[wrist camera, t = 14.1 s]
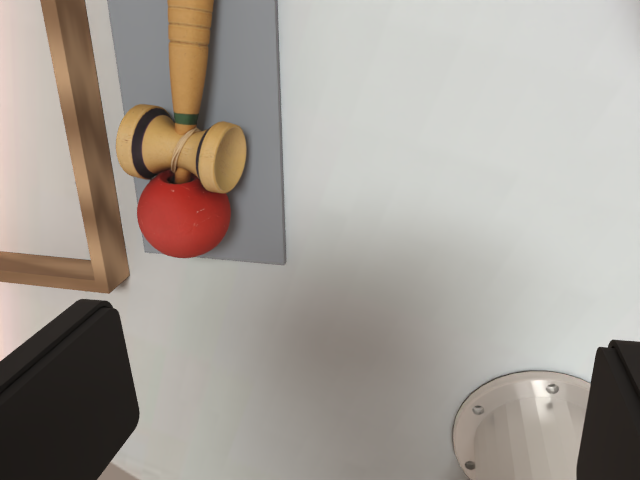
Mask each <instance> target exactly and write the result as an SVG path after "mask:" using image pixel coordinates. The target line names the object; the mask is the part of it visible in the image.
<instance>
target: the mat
mask: <svg viewBox="0 0 640 480" xmlns="http://www.w3.org/2000/svg"><path fill="white" fill-rule="evenodd" d="M107 2H108V9H109V16H110V22H111V29H112V36H113V42H114V49H115V56H116V62H117V69H118V76H119V83H120V89H121V96H122V103H123V109H124V116H125V114H126V113H127V112H128V111H129V110H130V109H131V108H133V107H134V106H136V105H139V104H147V105H154V106H160V107H162V108H164V109H165V110H166V111H167V112H168V113H169V115H170V117H171V119H172V121H173V122H174V123H175V118H174V111H173V103H172V93H171V83H170V69H169V42H170V40H169V38H168V25H169V22H168V4H167V0H107ZM207 46H208V49H209V50H208V61H207V69H206V76H205V83H204V89H203V95H202V100H201V105H200V111H199V116H198V120H197V128H198V129H200V130H201V131H204V130H207V129H209V128H210V127H211V126H213V125H214V124H216V123H218V122H222V121H225V122H229V123H232V124H235V125H238V126H240V127H241V129H242V130H243V133H244V136H245V140H246V149H247V150H246V161H245V166H244V169H243V172H242V175H241V177H240V179H239V181H238V183H237V184H236V185H235V187H234V188H233V189H232V190H231V191H230V192H228V193H226V194H227V196H228V199H229V203H230V208H231V218H230V224H229V227H228V230H227V232H226V234H225V236H224V238H223V239H222V241H221V242H220V243H219V244H218V245H217V246H216V247H215V248H213V249H212V250H210V251H209V252H207V253H205V254H203V255H200V256H196V257H201V258H212V259H222V260H233V261H244V262H254V263H265V264H276V265H284V264H285V263H286V243H285V214H284V184H283V154H282V125H281V95H280V65H279V36H278V6H277V0H214V4H213V12H212V21H211V27H210V41H209V44H208V45H207ZM149 182H150V180H145V179H141V178H137V177H134V183H135V190H136V196H137V203H138V202H139V199H140V196H141V194H142V192H143V190H144V188H145V187H146V185H147V184H148V183H149ZM142 237H143V243H144V250H145V252H147V253H158V254H163V253H161V252H160V251H158V250H157V249H155V248H154V247H153V246H152V245H151V244H150V243H149V242H148V241H147V240H146V238H145V237H144V235H143V233H142Z"/></svg>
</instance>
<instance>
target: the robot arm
mask: <svg viewBox="0 0 640 480" xmlns="http://www.w3.org/2000/svg"><path fill="white" fill-rule="evenodd" d="M138 420H139V406H138V402H137V397H136V392H135V387H134V382H133V377H132V373H131V368H130V363H129V358H128V353H127V349H126V344H125V339H124V334H123V329H122V325H121V320H120V315H119V312H118V311H117V310H116V309H115V308H113V306H112V305H111V304H110V302H108V301H102V300H89V299H80V300H78V301H76V302H75V303H74V304H73V305H71V306H70V307H69V308H68V309H66V310H65V311H64V312H62V313H61V314H60V315H59V316H57V317H56V318H55V319H54V320H52V321H51V322H50V323H49V324H47V325H46V326H45V327H43V328H42V329H41V330H40V331H38V332H37V333H36V334H35V335H33V336H32V337H31V338H29V339H28V340H27V341H26V342H24V343H23V344H22V345H21V346H19V347H18V348H17V349H16V350H14V351H13V352H12V353H10V354H9V355H8V356H7V357H5V358H4V359H3V360H2V361H0V480H97V479H98V477H99V476H100V475H101V474H102V472H103V471H104V470H105V468H106V467H107V466H108V464H109V463H110V462H111V460H112V459H113V458H114V456H115V455H116V454H117V452H118V451H119V450H120V448H121V447H122V446H123V444H124V443H125V442H126V440H127V439H128V438H129V436H130V435H131V434H132V432H133V431H134V430H135V428H136V426H137V424H138ZM453 443H454V451H455V455H456V457H457V460H458V462H459V465H460V466H461V468H462V469H463V471H464V472H465V474H466V475H467V476H468V477H469V478H470V479H471V480H640V342H635V341H622V340H612V341H610V343H609V345H608V348H605V347H599V348H598V349H597V352H596V356H595V362H594V368H593V374H592V379H591V384H590V383H588V382H586V381H584V380H582V379H579V378H576V377H573V376H569V375H566V374H561V373H554V372H548V371H529V372H522V373H515V374H510V375H507V376H504V377H500V378H497V379H495V380H493V381H491V382H489V383H487V384H485V385H483V386H482V387H480V388H479V389H478V390H476V391H475V392H474V393H472V394H471V395H470V396H469V398H468V399H467V400H466V401H465V402H464V403H463V404H462V406H461V408H460V410H459V412H458V414H457V416H456V419H455V423H454V427H453Z"/></svg>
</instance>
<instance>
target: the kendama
mask: <svg viewBox="0 0 640 480" xmlns="http://www.w3.org/2000/svg"><path fill="white" fill-rule="evenodd" d="M167 4H168V22H169V25H168V38H169V40H170V42H169V69H170V83H171V93H172V103H173V111H174V118H175V123H174V122H173V121H172V119H171V117H170V115H169V113H168V112H167V111H166V110H165V109H164V108H162V107H160V106H154V105H147V104H139V105H136V106H134V107H133V108H131V109H130V110H129V111H128V112H127V113H126V114H125V116H124V118H123V119H122V121H121V123H120V126H119V129H118V133H117V139H116V153H117V157H118V161H119V163H120V165H121V167H122V168H123V170H124V171H125V172H126V173H127V174H129V175H131V176H134V177H137V178H141V179H145V180H150V182H149V183H148V184H147V185H146V187H145V188H144V190H143V192H142V194H141V196H140V199H139V202H138V207H137V218H138V223H139V227H140V229H141V232H142V233H143V235H144V237H145V238H146V240H147V241H148V242H149V243H150V244H151V245H152V246H153V247H154V248H155V249H157V250H158V251H160V252H161V253H163V254H166V255H168V256H172V257H177V258H191V257H196V256H200V255H203V254H205V253H207V252H209V251H210V250H212V249H213V248H215V247H216V246H217V245H218V244H219V243H220V242H221V241H222V239H223V238H224V236H225V234H226V232H227V230H228V227H229V224H230V218H231V208H230V203H229V199H228V196H227V194H226V193H228V192H230V191H231V190H232V189H233V188H234V187H235V185H236V184H237V183H238V181H239V179H240V177H241V175H242V172H243V169H244V166H245V161H246V150H247V149H246V140H245V136H244V133H243V130H242V129H241V127H240V126H238V125H235V124H232V123H229V122H225V121H222V122H218V123H216V124H214V125H213V126H211V127H210V128H209V129H207V130H204V131H201V130H200V129H198V128H197V120H198V116H199V111H200V105H201V100H202V95H203V89H204V83H205V76H206V69H207V61H208V50H209V49H208V46H207V45H208V44H209V41H210V27H211V21H212V12H213V4H214V0H167Z"/></svg>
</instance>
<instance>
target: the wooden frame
mask: <svg viewBox="0 0 640 480" xmlns="http://www.w3.org/2000/svg"><path fill="white" fill-rule="evenodd" d="M40 1H41V6H42V11H43V16H44V21H45V27H46V32H47V37H48V42H49V47H50V52H51V57H52V62H53V68H54V73H55V78H56V83H57V88H58V93H59V98H60V104H61V109H62V114H63V119H64V124H65V129H66V134H67V140H68V145H69V150H70V155H71V160H72V165H73V170H74V176H75V181H76V186H77V191H78V196H79V201H80V206H81V212H82V217H83V222H84V227H85V232H86V237H87V242H88V247H89V253H90V258H91V260H82V259H72V258H61V257H51V256H41V255H31V254H21V253H10V252H0V282H8V283H18V284H27V285H36V286H45V287H54V288H63V289H72V290H81V291H90V292H99V293H108V294H109V293H110V292H112V291H113V290H114V289H115V288H116V287H117V286H118V285H119V284H120V283H122V282H123V281H124V280H125V279H126V278H127V277H128V276H129V275H130V274H129V268H128V262H127V256H126V249H125V243H124V237H123V231H122V225H121V219H120V213H119V207H118V201H117V195H116V189H115V183H114V177H113V171H112V164H111V158H110V152H109V146H108V140H107V134H106V128H105V122H104V116H103V110H102V104H101V98H100V92H99V86H98V79H97V73H96V67H95V61H94V55H93V49H92V43H91V37H90V31H89V25H88V19H87V13H86V7H85V1H84V0H40Z"/></svg>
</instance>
